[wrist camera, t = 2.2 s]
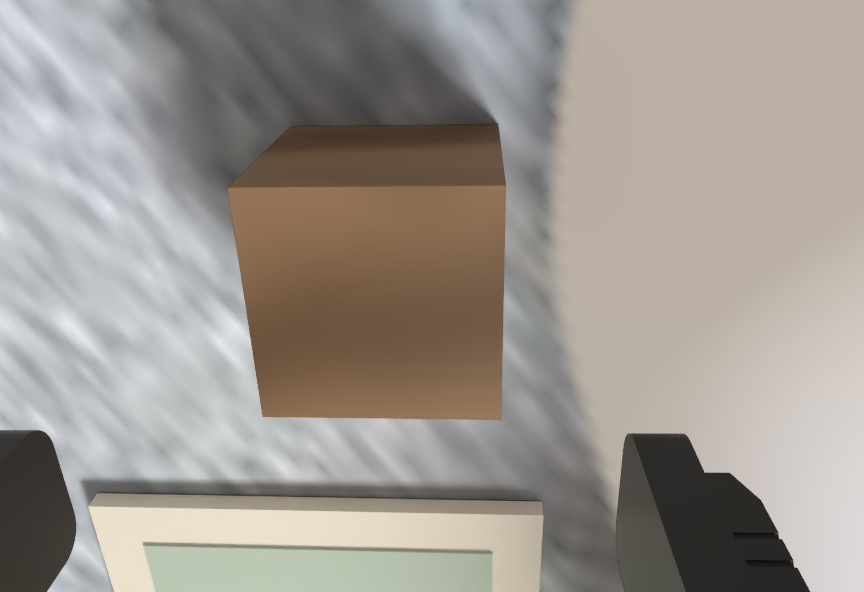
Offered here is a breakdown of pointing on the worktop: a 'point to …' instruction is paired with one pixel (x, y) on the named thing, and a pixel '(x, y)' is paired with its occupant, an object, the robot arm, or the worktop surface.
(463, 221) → the walnut block
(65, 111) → the worktop surface
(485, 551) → the coaster
